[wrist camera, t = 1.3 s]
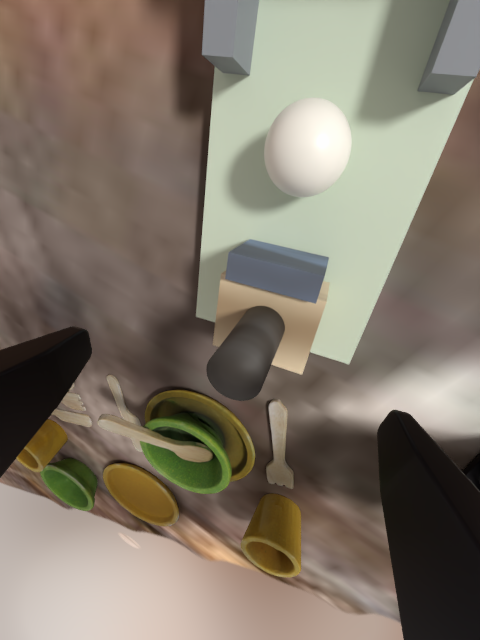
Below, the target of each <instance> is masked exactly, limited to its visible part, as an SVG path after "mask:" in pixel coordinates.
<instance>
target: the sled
mask: <svg viewBox="0 0 480 640" xmlns="http://www.w3.org/2000/svg"><path fill="white" fill-rule="evenodd" d="M328 260H329V257H326V256H321V255H317V254H313V253H308V252H304V251H300V250H295V249H291V248H287V247H282V246H278V245H274V244H270V243H265V242H261V241H257V240H252V239H249V240H248V241H246V242H244V243H243V244H241V245H240V246H238V247H236V248H235V249H233V250H231V251H230V252H229V253H228V261H227V269H226V270H225V271H224V272H223V273H221V278H220V287H219V295H218V304H217V312H216V321H215V329H214V338H213V345H214V346H217V347H219V348H218V349H217V351H216V352H215V353H214V355H213V356H212V357H211V358H210V360H209V362H208V364H207V376H208V379H209V381H210V383H211V384H212V386H213V387H214V388H215V389H216V390H217V391H218V392H219V393H221V394H222V395H224V396H226V397H228V398H230V399H233V400H239V401H244V400H250V399H252V398H254V397H256V396H257V395H258V394H259V392H260V391H261V388H262V386H263V383H264V381H265V379H266V376H267V374H268V371H269V369H270V366H271V365H274V366H277V367H280V368H283V369H286V370H289V371H292V372H295V373H298V374H301V375H302V373H303V370H304V368H305V365H306V362H307V359H308V356H309V353H310V350H311V347H312V344H313V341H314V338H315V335H316V332H317V329H318V326H319V323H320V320H321V317H322V314H323V311H324V308H325V305H326V302H327V296H328V291H329V285H330V283H329V282H325V281H323V280H324V277H325V273H326V268H327V264H328Z"/></svg>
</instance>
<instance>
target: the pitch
mask: <svg viewBox="0 0 480 640" xmlns="http://www.w3.org/2000/svg"><path fill="white" fill-rule="evenodd" d="M202 55H203V56H204V57H205V58H206V59H207V60H208V61H210V62H211V63H212V64H213V65H214V66H215V69H214V82H213V96H212V109H211V122H210V136H209V149H208V162H207V175H206V189H205V202H204V215H203V228H202V242H201V255H200V268H199V282H198V295H197V308H196V317H199V318H202V319H205V320H209V321H212V322H215V321H216V312H217V304H218V295H219V287H220V278H221V273H223V272H224V271H225V270H226V269H227V261H228V253H229V252H230V251H231V250H233V249H235V248H236V247H238V246H240V245H241V244H243V243H244V242H246V241H248V240H249V239H252V240H257V241H261V242H265V243H270V244H274V245H278V246H282V247H287V248H291V249H295V250H300V251H304V252H308V253H313V254H317V255H321V256H326V257H329V260H328V264H327V268H326V273H325V277H324V280H323V281H325V282H329V283H330V285H329V291H328V296H327V302H326V305H325V308H324V311H323V314H322V317H321V320H320V323H319V326H318V329H317V332H316V335H315V338H314V341H313V344H312V347H311V350H310V352H311V353H314V354H317V355H321V356H324V357H327V358H330V359H333V360H337V361H340V362H343V363H346V364H349V363H350V361H351V359H352V356H353V354H354V352H355V349H356V347H357V345H358V343H359V340H360V338H361V336H362V333H363V331H364V329H365V327H366V324H367V322H368V320H369V317H370V315H371V313H372V311H373V308H374V306H375V304H376V301H377V299H378V297H379V295H380V292H381V290H382V288H383V285H384V283H385V281H386V279H387V276H388V274H389V272H390V269H391V267H392V265H393V263H394V260H395V258H396V256H397V253H398V251H399V249H400V247H401V244H402V242H403V240H404V237H405V235H406V233H407V231H408V228H409V226H410V224H411V221H412V219H413V217H414V215H415V212H416V210H417V208H418V205H419V203H420V201H421V199H422V196H423V194H424V192H425V189H426V187H427V185H428V183H429V180H430V178H431V176H432V173H433V171H434V169H435V167H436V164H437V162H438V160H439V157H440V155H441V153H442V151H443V148H444V146H445V144H446V141H447V139H448V137H449V135H450V132H451V130H452V128H453V125H454V123H455V121H456V119H457V116H458V114H459V112H460V109H461V107H462V105H463V102H464V100H465V98H466V96H467V93H468V91H469V89H470V86H471V84H472V82H473V80H474V78H475V77H476V76H477V74H478V72H479V69H480V0H205V8H204V25H203V43H202ZM310 97H313V98H322V99H326V100H328V101H330V102H332V103H334V104H335V105H336V106H337V107H338V108H339V109H340V110H341V111H342V112H343V114H344V115H345V117H346V119H347V121H348V123H349V126H350V130H351V137H352V145H351V153H350V157H349V160H348V163H347V165H346V167H345V169H344V171H343V173H342V174H341V176H340V177H339V178H338V180H337V181H336V182H335V183H334V184H333V185H332V186H331V187H329V188H328V189H327V190H325V191H324V192H322V193H320V194H318V195H315V196H311V197H294V196H290V195H288V194H286V193H284V192H282V191H281V190H280V189H279V188H277V187H276V185H275V184H274V183H273V182H272V180H271V179H270V177H269V175H268V172H267V169H266V166H265V160H264V147H265V141H266V137H267V134H268V131H269V129H270V127H271V125H272V123H273V122H274V120H275V119H276V117H277V116H278V115H279V114H280V113H281V112H282V110H284V109H285V108H286V107H287V106H289V105H290V104H292V103H294V102H296V101H298V100H301V99H304V98H310Z"/></svg>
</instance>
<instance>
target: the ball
mask: <svg viewBox="0 0 480 640" xmlns="http://www.w3.org/2000/svg"><path fill="white" fill-rule="evenodd" d="M351 145H352V137H351V130H350V126H349V123H348V121H347V119H346V117H345V115H344V114H343V112H342V111H341V110H340V109H339V108H338V107H337V106H336V105H335V104H334V103H332V102H330V101H328V100H326V99H322V98H313V97H310V98H304V99H301V100H298V101H296V102H294V103H292V104H290V105H289V106H287V107H286V108H285V109H284V110H282V112H281V113H280V114H279V115H278V116H277V117H276V119H275V120H274V122H273V123H272V125H271V127H270V129H269V131H268V134H267V137H266V141H265V147H264V160H265V166H266V169H267V172H268V175H269V177H270V179H271V180H272V182H273V183H274V184H275V185H276V187H277V188H279V189H280V190H281V191H282V192H284V193H286V194H288V195H290V196H294V197H311V196H315V195H318V194H320V193H322V192H324V191H325V190H327V189H328V188H329V187H331V186H332V185H333V184H334V183H335V182H336V181H337V180H338V178H339V177H340V176H341V174H342V173H343V171H344V169H345V167H346V165H347V163H348V160H349V157H350V153H351Z"/></svg>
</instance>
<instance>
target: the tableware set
mask: <svg viewBox="0 0 480 640" xmlns="http://www.w3.org/2000/svg"><path fill="white" fill-rule="evenodd" d="M106 378H107V381H108V384H109V387H110V389H111V392H112V394H113V396H114V399H115V401H116V404H117V406H118V409H119V411H120V414H121V416H122V418H123V419H121V418H119V417H116V416H113V415H110V414H102V415H101V416H100V417H99V419H98V422H97V424H98V426H99V427H101V428H103V429H105V430H107V431H110V432H113V433H116V434H119V435H123V436H126V437H130V438H131V440H132V442H133V445H134V447H135V449H136V450H137V451H140V452H143V453H144V455H145V457H146V458H147V460H148V461H149V462H150V464H151V465H152V466H153V467H154V468H155V469H156V470H157V471H158V472H159V473H160V474H161V475H162V476H164V477H165V478H166V479H168V480H169V481H170V482H172V483H174V484H176V485H178V486H180V487H181V488H184V489H186V490H189V491H192V492H196V493H201V494H213V493H217V492H220V491H222V490H224V489H225V488H226V487H227V486H228V484H229V482H232V481H237V480H239V479H241V478H243V477H245V476H246V475H247V474H248V473H249V472H250V471H251V469H252V468H253V465H254V461H255V451H254V446H253V442H252V440H251V437H250V435H249V433H248V432H247V430H246V428H245V427H244V426H243V424H242V423H241V422H240V420H239V419H238V418H237V417H236V416H235V415H234V414H233V413H232V412H231V411H230V410H229V409H228V408H226V407H225V406H224V405H222V404H221V403H219V402H218V401H216V400H214V399H212V398H210V397H208V396H205V395H203V394H200V393H196V392H192V391H188V390H170V391H165V392H162V393H159V394H158V395H156V396H155V397H153V398H152V399H151V400H150V402H149V403H148V405H147V407H146V411H145V422H146V424H145V425H144V426H143V427H142V426H141V424H140V421H139V419H138V417H136V416H135V415H133V414H132V413H130V412H129V410H128V409H127V407H126V404H125V400H124V397H123V394H122V391H121V388H120V385H119V382H118V380H117V378H116V377H115V376H113V375H108V376H107V377H106ZM74 386H75V384H74V383H73V385H72V386H71V388H70V389H69V390H72V389H73V388H74ZM79 399H81V398H80V396H79V395H78V394H75V393H71V392H67V394H66V395H65V397H64V398H63V400H62V401H61V403H63V404H64V405H66V406H67V407H69V408H71V409H75V410H81V411H86V409H85V407H84V406H82V405H83V402H82V401H79ZM268 407H269V418H270V427H271V434H272V445H273V455H274V459H273V460H272V461H271V462H269V463H268V464H267V466H266V474H267V480H268V482H269V483H270V484H275V483H277V484H278V485H279V486H283V484H284V485H285V486H286V487H287V488H290V489H293V485H294V473H293V471H292V469H291V468H290V467H289V466H288V464H287V463H286V461H285V446H286V430H287V409H286V407H285V406H284V405H283V404H282V402H281V401H280V400H279V399H273V400H272V401H271V402H270V404H269V406H268ZM51 415H55V416H57V417H58V418H59V419H60V420H62V421H64V422H69V423H73V424H78V425H82V426H86V427H91V426H92V420H91V418H90V417H89V416H88V415H86V414H81V413H76V412H70V411H64V410H59V409H55V410H54V411H53V413H52V414H51ZM67 440H68V438H67V435H66V433H65V431H64V430H63V429H62V428H61V426H59V425H58V424H57V423H56V422H54V421H52V420H49V419H47V420H46V421H45V423H44V424H43V425H42V426H41V428H40V429H39V430H38V431H37V433H36V434H35V435H34V436H33V438H32V439H31V440H30V441H29V443H28V444H27V445H26V446H25V448H24V449H23V450H22V451H21V453H20V454H19V455H18V456H17V458H16V459H17V460H18V461H19V462H20V463H21V464H23V465H24V466H25V467H27V468H28V469H30V470H32V471H35V472H40V474H41V477H42V479H43V481H44V483H45V484H46V485H47V487H48V488H49V489H50V490H51V491H52V492H53V493H54V494H55V495H56V496H57V497H58V498H60V499H61V500H62V501H64V502H65V503H67V504H68V505H70V506H72V507H74V508H76V509H79V510H83V511H88V510H91V509H92V508H93V506H94V502H95V499H94V496H95V492H96V488H97V483H98V481H97V478H96V476H95V475H94V473H93V472H92V471H91V470H90V469H89V468H88V467H87V466H86V465H85V464H83V463H82V462H80V461H78V460H76V459H73V458H67V459H64V460H61V461H58V462H56V463H49V462H50V461H51V460H52V458H53V457H54V456H55V455H56V454H57V452H58V451H59V450H60V449H61V448H62V446H63V445H64V444H65V443H66V442H67ZM103 480H104V483H105V485H106V487H107V489H108V491H109V492H110V494H111V495H112V496H113V497H114V498H115V500H116V501H117V502H118V503H119V504H120V505H121V506H123V507H124V508H125V509H126V510H128V511H129V512H130V513H131V514H133V515H135V516H136V517H138V518H140V519H142V520H144V521H146V522H148V523H151V524H154V525H158V526H171V525H173V524H175V523H176V522H177V520H178V518H179V509H178V505H177V502H176V499H175V497H174V496H173V494H172V492H171V491H170V490H169V489H168V487H167V486H166V485H165V484H164V483H163V482H162V481H161V480H159V479H158V478H157V477H156V476H154V475H153V474H151V473H150V472H148V471H146V470H145V469H143V468H140V467H138V466H136V465H132V464H128V463H114V464H111V465H109V466H107V467H106V468H105V469H104V471H103ZM241 548H242V551H243V553H244V554H245V556H246V557H247V558H248V559H249V560H250V561H251V562H252V563H253V564H255V565H256V566H258V567H259V568H261V569H262V570H264V571H266V572H268V573H270V574H272V575H275V576H280V577H293V576H296V575H298V574H299V573H300V571H301V512H300V510H299V508H298V506H297V505H296V504H295V503H294V502H293V501H292V500H290V499H288V498H286V497H284V496H282V495H279V494H273V493H272V494H266V495H264V496H263V497H262V498H261V500H260V502H259V504H258V506H257V508H256V511H255V513H254V515H253V517H252V519H251V522H250V524H249V526H248V528H247V530H246V532H245V535H244V537H243V539H242V542H241Z"/></svg>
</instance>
